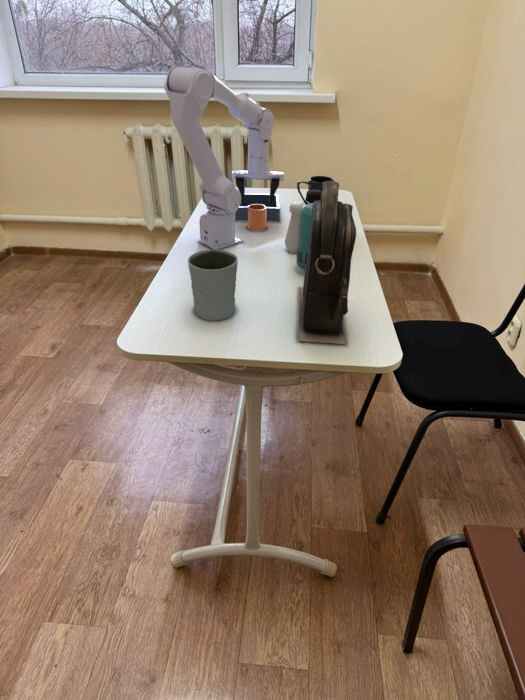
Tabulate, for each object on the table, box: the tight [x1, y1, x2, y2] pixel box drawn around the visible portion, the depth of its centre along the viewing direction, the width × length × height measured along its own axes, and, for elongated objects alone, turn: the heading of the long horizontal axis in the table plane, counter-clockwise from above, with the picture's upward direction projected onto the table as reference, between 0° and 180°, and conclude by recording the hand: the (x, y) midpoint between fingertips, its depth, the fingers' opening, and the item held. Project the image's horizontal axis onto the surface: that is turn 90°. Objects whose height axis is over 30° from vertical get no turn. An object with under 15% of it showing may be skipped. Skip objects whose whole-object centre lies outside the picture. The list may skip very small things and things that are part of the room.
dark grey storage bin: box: [235, 193, 281, 222], centre depth 151 cm, size 14×14×4 cm
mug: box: [296, 175, 335, 205], centre depth 155 cm, size 8×12×10 cm
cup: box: [246, 204, 267, 231], centre depth 140 cm, size 6×6×6 cm
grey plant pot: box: [187, 249, 239, 322], centre depth 99 cm, size 10×10×12 cm
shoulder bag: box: [298, 180, 357, 345], centre depth 94 cm, size 23×9×28 cm, turn 176°
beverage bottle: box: [296, 190, 322, 271], centre depth 114 cm, size 6×7×20 cm
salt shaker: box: [284, 201, 305, 254], centre depth 126 cm, size 6×6×13 cm
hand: (257, 204), depth 138 cm, fingers open, 7 cm apart
